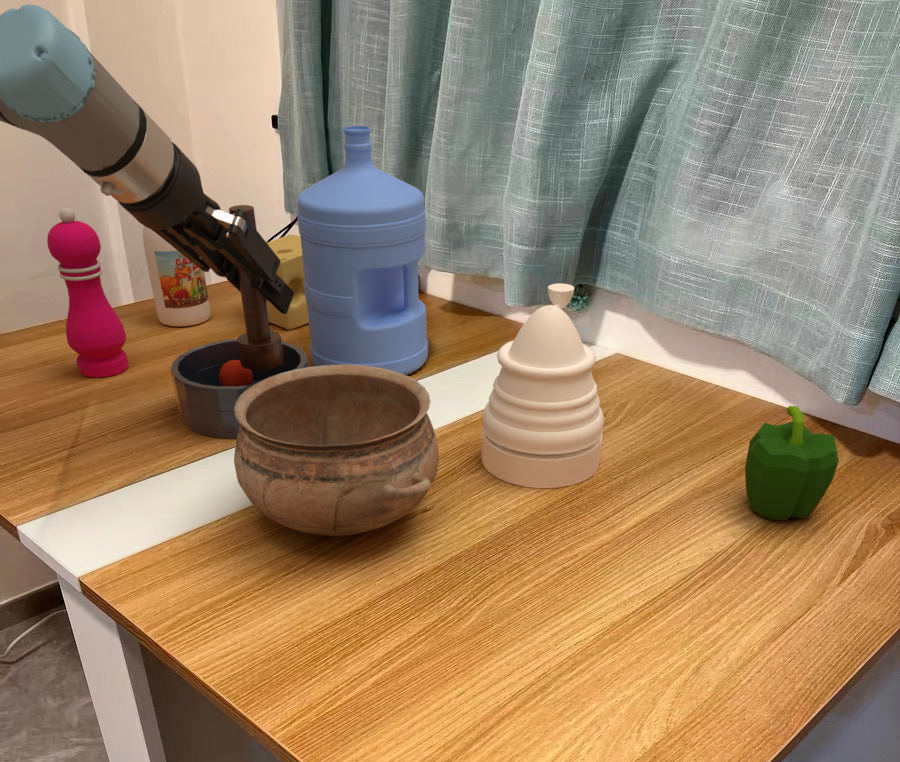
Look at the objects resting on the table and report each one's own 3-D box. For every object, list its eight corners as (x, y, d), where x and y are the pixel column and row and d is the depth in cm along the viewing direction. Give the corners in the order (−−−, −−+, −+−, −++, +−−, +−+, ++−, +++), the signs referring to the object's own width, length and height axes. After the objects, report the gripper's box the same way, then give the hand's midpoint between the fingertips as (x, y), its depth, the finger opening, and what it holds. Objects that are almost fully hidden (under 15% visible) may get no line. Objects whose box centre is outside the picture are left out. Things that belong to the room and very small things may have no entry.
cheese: (342, 314, 134) (337, 245, 128) (286, 333, 128) (278, 261, 122) (299, 299, 140) (292, 232, 134) (243, 316, 134) (233, 247, 128)
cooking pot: (194, 502, 89) (171, 387, 82) (346, 445, 99) (338, 339, 92) (338, 615, 74) (326, 487, 67) (501, 535, 84) (505, 416, 77)
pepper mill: (63, 374, 116) (19, 211, 104) (100, 355, 121) (62, 198, 109) (108, 382, 114) (68, 217, 102) (144, 362, 119) (109, 203, 107)
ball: (221, 400, 107) (215, 368, 105) (222, 387, 110) (217, 356, 108) (254, 398, 108) (250, 366, 105) (255, 385, 111) (250, 354, 109)
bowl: (174, 443, 100) (164, 393, 96) (186, 387, 112) (177, 341, 109) (314, 434, 102) (309, 384, 98) (310, 380, 114) (305, 334, 111)
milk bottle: (149, 326, 130) (119, 178, 118) (171, 309, 136) (144, 167, 124) (199, 329, 129) (173, 180, 117) (219, 311, 135) (196, 168, 123)
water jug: (289, 373, 116) (262, 134, 99) (346, 334, 127) (330, 114, 111) (397, 392, 111) (387, 144, 94) (446, 349, 123) (445, 122, 106)
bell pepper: (821, 538, 84) (849, 442, 78) (732, 522, 86) (752, 427, 80) (824, 496, 90) (850, 404, 84) (740, 482, 92) (760, 392, 86)
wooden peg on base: (239, 372, 101) (215, 214, 91) (241, 356, 105) (218, 203, 95) (284, 369, 102) (264, 212, 92) (283, 353, 106) (265, 201, 96)
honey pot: (521, 423, 104) (528, 265, 93) (620, 452, 98) (640, 287, 87) (458, 465, 95) (458, 298, 85) (562, 500, 89) (577, 324, 79)
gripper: (67, 198, 84) (212, 319, 106) (195, 217, 78) (321, 341, 100) (96, 127, 85) (234, 262, 106) (225, 140, 79) (343, 280, 100)
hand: (276, 300), depth 103 cm, fingers closed on wooden peg on base, 3 cm apart
